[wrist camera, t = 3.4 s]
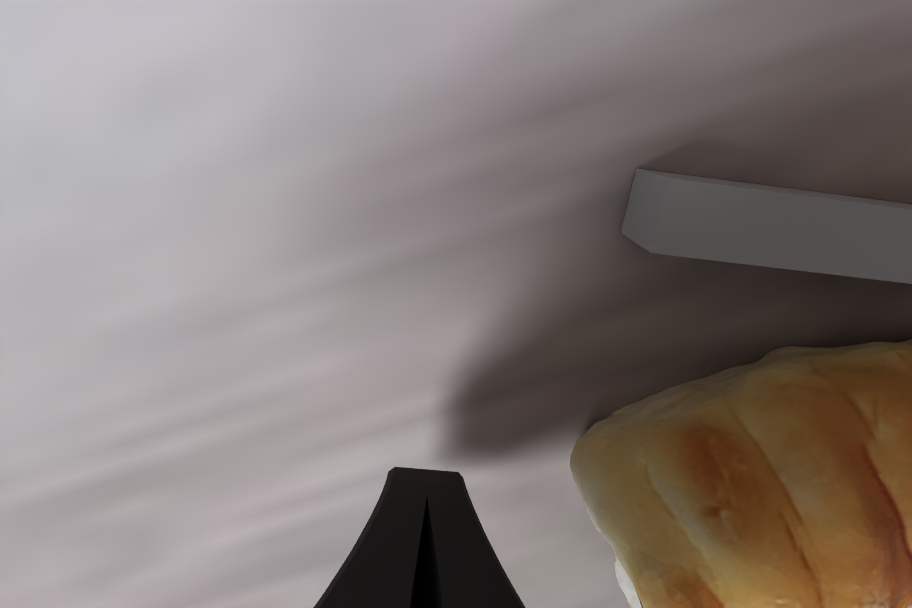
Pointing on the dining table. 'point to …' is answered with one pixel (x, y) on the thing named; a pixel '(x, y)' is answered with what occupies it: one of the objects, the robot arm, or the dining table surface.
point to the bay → (769, 226)
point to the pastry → (762, 484)
